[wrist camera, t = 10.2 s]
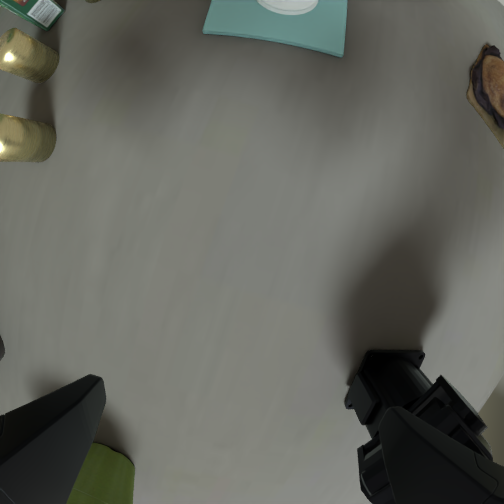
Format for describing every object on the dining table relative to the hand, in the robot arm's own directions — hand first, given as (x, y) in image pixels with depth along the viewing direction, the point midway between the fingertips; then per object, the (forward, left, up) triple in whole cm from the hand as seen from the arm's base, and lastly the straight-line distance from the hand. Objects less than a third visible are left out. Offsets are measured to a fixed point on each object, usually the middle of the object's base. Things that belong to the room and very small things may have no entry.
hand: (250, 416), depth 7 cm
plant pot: (+13, +27, -13) cm, 33 cm away
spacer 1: (+20, -15, -13) cm, 28 cm away
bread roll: (-22, -22, -14) cm, 34 cm away
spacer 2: (+18, -8, -13) cm, 24 cm away
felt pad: (+1, -22, -13) cm, 26 cm away
